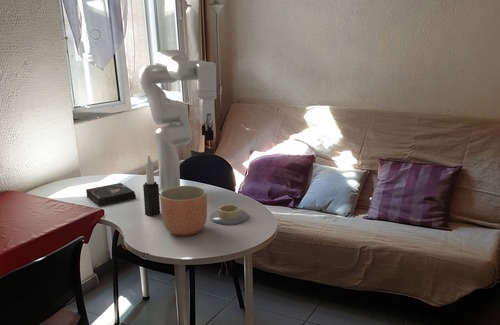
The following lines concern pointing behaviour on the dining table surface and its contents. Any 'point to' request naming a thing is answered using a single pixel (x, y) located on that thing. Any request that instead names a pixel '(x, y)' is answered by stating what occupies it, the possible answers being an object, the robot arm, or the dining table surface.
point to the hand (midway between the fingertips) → (207, 137)
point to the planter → (184, 209)
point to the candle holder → (229, 215)
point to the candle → (151, 192)
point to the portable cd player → (110, 194)
